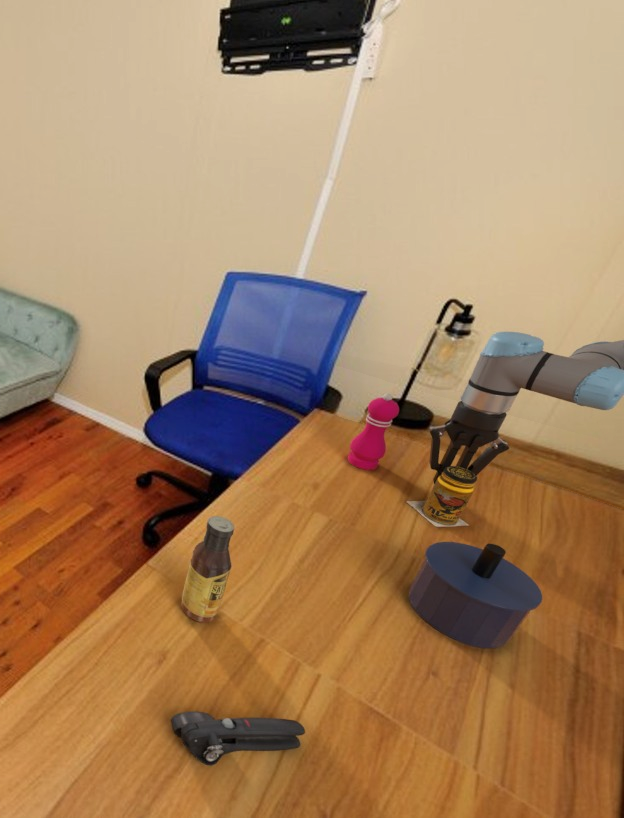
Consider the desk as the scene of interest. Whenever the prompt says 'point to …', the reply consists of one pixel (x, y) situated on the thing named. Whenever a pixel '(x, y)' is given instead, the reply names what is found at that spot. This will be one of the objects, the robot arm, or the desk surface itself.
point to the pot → (461, 613)
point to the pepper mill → (373, 433)
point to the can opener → (233, 734)
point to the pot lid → (483, 575)
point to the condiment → (448, 497)
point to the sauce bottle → (208, 572)
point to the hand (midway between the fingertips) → (437, 497)
